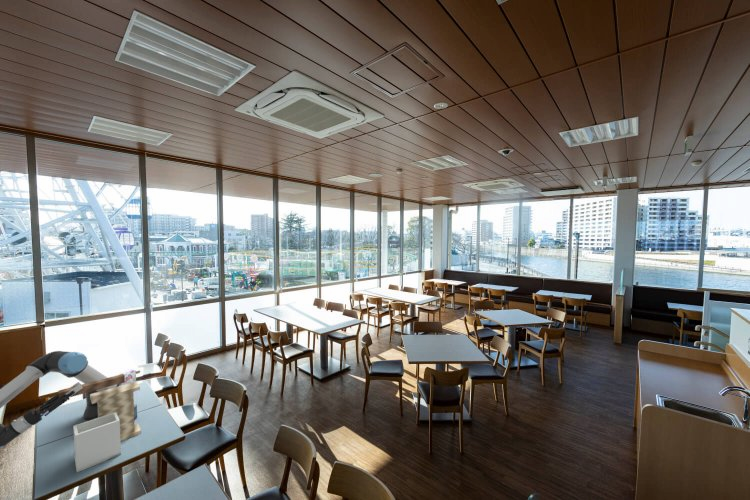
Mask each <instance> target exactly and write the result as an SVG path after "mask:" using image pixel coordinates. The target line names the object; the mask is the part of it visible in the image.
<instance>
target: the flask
mask: <svg viewBox="0 0 750 500" xmlns="http://www.w3.org/2000/svg"><path fill="white" fill-rule="evenodd" d="M137 419H138V405H137V404H136V403H134V422H135V421H136V420H137Z"/></svg>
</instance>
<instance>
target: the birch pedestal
mask: <svg viewBox="0 0 750 500" xmlns="http://www.w3.org/2000/svg"><path fill="white" fill-rule="evenodd" d="M140 390H141V387H140V384H139V383H138V382H137V381H136V382H133V383H129V384H125V385H122V386H118V387H115V388H111V389H107V390H104V391H100V392H97V393H93V394H90V399H91V402H92V404H94V403H97V405H98V418H99V417H102V416H105V415H108V414H111V413H114V412H116V413H117V415H118V417H119V420H120V442H122V441H124V440H128V439H130V438H133V437H135V436H138V435H141V434H142V429H141V427H140V425H139V423H136V424H135V421H134V405H135V403H134V402H135V401H134V400H135V399H134V396H135V395H134V392H137V391H140Z"/></svg>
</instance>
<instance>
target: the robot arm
mask: <svg viewBox="0 0 750 500" xmlns="http://www.w3.org/2000/svg"><path fill="white" fill-rule="evenodd" d="M87 357H88V356H87V355H85V354H84V353H83V352H78V351H64V350H63V351H62V350H56V351H55V350H54V351H51V352H49V353H46V354H44V355H42V356H40V357H39V358H37V359H36V360H34V361H33V362H31V363H29V364H28V365H27V366H26V367H25V370H24V371H22V372H21V373H20V374H19V375H18V376H16V377H15V378H13V379H12V380H11V381H9V382H7V383H6V384H5V385H3V387H1V388H0V409H1V408H3V407H5V405H7V404H8V403H9V402H10V401H11V400H13V399H14V398H16V396H17V395H19V394H20V393H22V392H23V391H24V390H25V389H26V388H28V387H30V385H31V384H33V383H34V382H35V381H36V380H38V379H39V378H40V379H41V378H43V377H44V376H46V375H47V374H49V373H59V374H61V375H63V376H65V377H66V378H70V379H71V378H75V379H76V380H78V382H76V383H74V384H73V385H71V386H70V387H69V388H71V387H74V386H76V387H75V388H73V389H72V390H70V391H69V392H67V393H66V395H64V396H62V397H61V398H59V392H58V393H57V394H55V395H54V396H52V397H51V398H49V399H47V400H46V401H44V402H42V403H41V406H40V405H39V408H37V409H29V411H27V412H25V413H23V415H22V416H19V417H18V418H17V419H13V420H12V422H11V423H8V424H7V425H4V424H3V423H1V422H0V449H1V448H3V447H5V446H7V445H8V444H9V443H11V442H12V441H13V440H14V439H16V438H17V437H20V436H21V434H23V433H25V432H26V431H28V430H29V429H31V428H32V427H33V426H35V425H36V424H38V423H39V422H41V421H42V420H43V416H45V417H47V416H48V415H49V414H51V413H52V412H53V411H55V410H56V409H57V408H58V407H60V406H62V405H63V404H65V403H66V402H68V401H69V400H70V398H72V397H71V396H72V395H74V394H75V393H76V392H78V391H79V390H81V389H82V388H83V387H82V386H80V385H82V384H81V383H83V384H86V383H90V382H94V381H98V380H102V379H105V378H108V377H107V376H105V375H104V374H103V373H102V372H100V371H98V370H97V369H95V368H94V367H92V366H91V365H90V364H89V361H88V358H87ZM122 385H125V383H120V384H117V385H113V386H109V387H106V388H102V389H98V390H95V391H91V392H88V393H85V397H86V399H85V400H86V406H85V410H84V413H83V415H82V416H83V420H84V421H90V420H93V419H96V418H98V405H97V403H94V404H92V402H91V399H90V394H93V393H97V392H100V391H104V390H107V389H111V388H115V387H118V386H122ZM68 397H69V398H68Z"/></svg>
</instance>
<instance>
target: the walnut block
mask: <svg viewBox="0 0 750 500" xmlns="http://www.w3.org/2000/svg"><path fill="white" fill-rule="evenodd" d="M120 374H121V373H120ZM124 382H125V376H124V374H121V375H119V374H117V375H114V376H110V377H107V378H105V379H102V380H98V381H94V382H90V383H86V384H84V383H83V384H81V385H80V386H82V387H83V388H82V389H81V390H79V391H78V392H76V393H75V394H74V395H72V396H71V397H68V398H72V397H76V396H80V395H83V394H86V393H88V392H91V391H95V390H98V389H102V388H106V387H109V386H113V385H117V384H120V383H124ZM70 387H71V386H70ZM70 387H67V388H64V389H60V390H58V393H59V398H61V397H62V396H64V395H66V393H67V392H69V391H70V390H72V389H73V388H75V387H76V386H74V387H71V388H70Z"/></svg>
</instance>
